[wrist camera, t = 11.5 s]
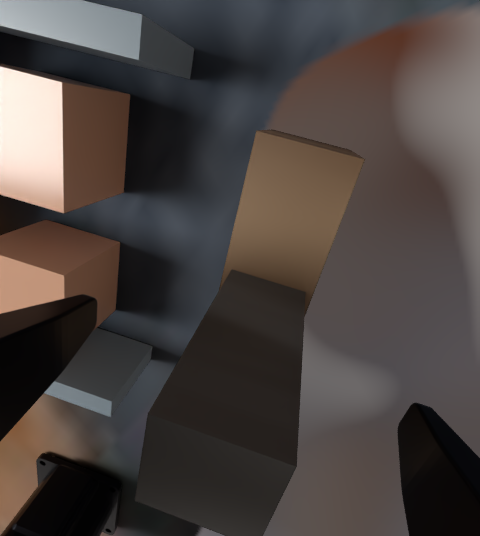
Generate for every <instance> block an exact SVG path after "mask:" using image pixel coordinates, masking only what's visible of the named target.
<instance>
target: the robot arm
mask: <svg viewBox="0 0 480 536" xmlns="http://www.w3.org/2000/svg"><path fill="white" fill-rule="evenodd" d="M97 306H98V302H97V299H96V298H94V297H91V296H88V295H85V294H80V295H76V296H72V297H68V298H64V299H60V300H55V301H51V302H47V303H43V304H39V305H35V306H30V307H26V308H22V309H18V310H14V311H9V312H5V313H1V314H0V441H1V440H2V439H3V438H4V437H5V435H6V434H7V433H8V432H9V431H10V430H11V429H12V428H13V427H14V425H15V424H16V423H17V422H18V421H19V420H20V419H21V418H22V417H23V416H24V414H25V413H26V412H27V411H28V410H29V409H30V408H31V407H32V406H33V404H34V403H35V402H36V401H37V400H38V399H39V398H40V397H41V396H42V394H43V393H44V392H45V391H46V390H47V389H48V388H49V387H50V386H51V385H52V383H53V382H54V381H55V380H56V379H57V378H58V377H59V376H60V374H61V373H62V372H63V371H64V369H65V368H66V367H67V366H68V364H69V363H70V361H71V360H72V359H73V357H74V356H75V355H76V353H77V352H78V351H79V349H80V348H81V346H82V345H83V344H84V342H85V341H86V340H87V338H88V337H89V335H90V334H91V333H92V331H93V330H94V328H95V326H96V323H97ZM398 445H399V458H400V459H399V460H400V474H401V487H402V495H403V502H404V507H405V513H406V519H407V525H408V531H409V536H480V458H479V457H478V456H477V455H476V454H475V453H474V452H473V451H472V450H471V449H470V448H469V446H467V444H466V443H465V442H464V441H463V440H462V439H461V438H460V437H459V436H458V435H457V434H456V433H455V432H454V431H453V430H452V429H451V428H450V427H449V426H448V425H447V423H446V422H445V421H444V420H443V419H442V418H441V417H440V416H439V415H438V414H437V413H436V412H435V411H434V410H433V409H432V408H431V407H428V406H425V405H422V404H419V403H413V404H412V405H411V406H410V407H409V409H408V410H407V412H406V414H405V415H404V417H403V418H402V420H401V421H400V423H399V426H398ZM36 462H37V475H38V487H37V488H36V490H35V491H34V492H33V494H32V495H31V496H30V498H29V499H28V500H27V501H26V503H25V504H24V505H23V507H22V508H21V509H20V511H19V512H18V513H17V514H16V516H15V517H14V518H13V520H12V521H11V522H10V524H9V525H8V526H7V527H6V529H5V530H4V531H3V533H2V534H1V535H0V536H100V534H101V532H104V533H107V534H110V535H113V534H114V532H115V530H116V528H117V523H118V514H119V506H120V497H121V488H122V486H121V484H120V483H119V482H118V481H116V480H114V479H111V478H109V477H106V476H103V475H101V474H98V473H96V472H93V471H90V470H88V469H85V468H82V467H80V466H77V465H74V464H72V463H69V462H67V461H64V460H61V459H59V458H56V457H53V456H51V455H48V454H45V453H42V454H41V455H40V456H39V457H38V459H37V461H36Z"/></svg>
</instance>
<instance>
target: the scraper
mask: <svg viewBox="0 0 480 536" xmlns="http://www.w3.org/2000/svg"><path fill="white" fill-rule="evenodd" d="M364 161H365V159H363V158H362V157H360V156H359V155H357V154H356V153H354V152H352V151H351V150H348V149H345V148H341V147H337V146H333V145H329V144H326V143H322V142H318V141H314V140H310V139H307V138H302V137H299V136H295V135H291V134H287V133H284V132H279V131H276V130H260V131H256V135H255V139H254V143H253V148H252V152H251V156H250V160H249V165H248V169H247V173H246V177H245V182H244V186H243V190H242V194H241V199H240V203H239V207H238V211H237V216H236V220H235V224H234V229H233V233H232V237H231V241H230V246H229V250H228V254H227V258H226V263H225V267H224V271H223V275H222V280H221V284H220V288H219V292H218V294H217V295H216V297H215V299H214V301H213V302H212V304H211V306H210V307H209V309H208V311H207V313H206V314H205V316H204V318H203V320H202V321H201V323H200V325H199V326H198V328H197V330H196V332H195V333H194V335H193V337H192V339H191V340H190V342H189V344H188V345H187V347H186V349H185V351H184V352H183V354H182V356H181V358H180V359H179V361H178V363H177V364H176V366H175V368H174V370H173V371H172V373H171V375H170V377H169V378H168V380H167V382H166V383H165V385H164V387H163V389H162V390H161V392H160V394H159V396H158V397H157V399H156V401H155V402H154V404H153V406H152V408H151V409H150V411H149V413H148V417H147V423H146V430H145V436H144V443H143V449H142V456H141V462H140V469H139V475H138V482H137V488H136V495H135V501H137V502H139V503H142V504H145V505H147V506H150V507H152V508H155V509H158V510H160V511H163V512H165V513H168V514H170V515H173V516H176V517H178V518H181V519H183V520H186V521H189V522H191V523H194V524H196V525H199V526H202V527H204V528H207V529H209V530H212V531H215V532H217V533H220V534H223V535H225V536H263V534H264V532H265V530H266V528H267V526H268V524H269V522H270V520H271V518H272V516H273V514H274V512H275V510H276V507H277V505H278V503H279V501H280V499H281V497H282V495H283V493H284V491H285V489H286V487H287V485H288V483H289V481H290V479H291V477H292V475H293V473H294V471H295V469H296V467H297V448H298V447H297V446H298V428H299V409H300V390H301V370H302V351H303V331H304V316H305V314H306V311H307V308H308V306H309V304H310V301H311V298H312V296H313V293H314V290H315V288H316V285H317V283H318V280H319V278H320V274H321V272H322V270H323V267H324V265H325V262H326V259H327V256H328V254H329V251H330V249H331V246H332V244H333V241H334V239H335V236H336V233H337V231H338V228H339V226H340V223H341V220H342V218H343V215H344V213H345V210H346V207H347V205H348V202H349V200H350V197H351V194H352V191H353V189H354V187H355V184H356V181H357V179H358V176H359V173H360V171H361V168H362V166H363V163H364Z"/></svg>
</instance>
